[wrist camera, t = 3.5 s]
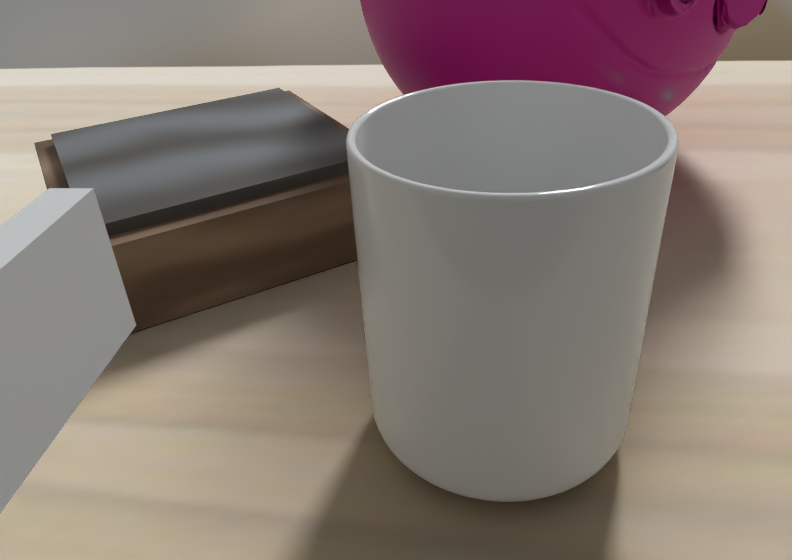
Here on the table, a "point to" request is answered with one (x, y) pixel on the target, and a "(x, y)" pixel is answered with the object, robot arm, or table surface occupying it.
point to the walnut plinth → (213, 198)
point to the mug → (507, 276)
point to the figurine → (558, 42)
